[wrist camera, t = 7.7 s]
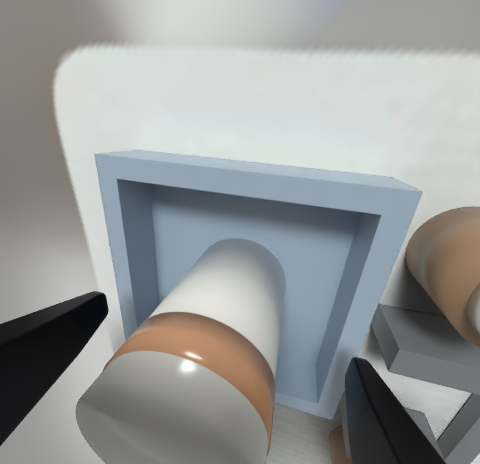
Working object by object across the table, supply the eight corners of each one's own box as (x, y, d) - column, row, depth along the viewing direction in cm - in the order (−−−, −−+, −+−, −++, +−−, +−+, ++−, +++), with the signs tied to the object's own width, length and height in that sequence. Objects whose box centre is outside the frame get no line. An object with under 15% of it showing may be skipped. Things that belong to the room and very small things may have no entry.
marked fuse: (294, 246, 10) (281, 434, 4) (279, 325, 12) (252, 540, 6) (197, 229, 11) (52, 358, 5) (196, 304, 13) (92, 471, 6)
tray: (391, 177, 9) (422, 191, 6) (327, 370, 13) (332, 420, 11) (138, 149, 11) (94, 153, 8) (155, 324, 15) (128, 358, 13)
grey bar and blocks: (645, 220, 7) (798, 258, 5) (425, 486, 14) (448, 551, 12) (422, 194, 9) (465, 215, 6) (320, 450, 16) (323, 504, 13)
